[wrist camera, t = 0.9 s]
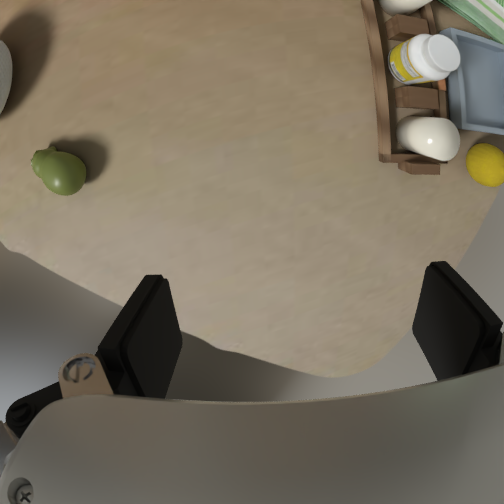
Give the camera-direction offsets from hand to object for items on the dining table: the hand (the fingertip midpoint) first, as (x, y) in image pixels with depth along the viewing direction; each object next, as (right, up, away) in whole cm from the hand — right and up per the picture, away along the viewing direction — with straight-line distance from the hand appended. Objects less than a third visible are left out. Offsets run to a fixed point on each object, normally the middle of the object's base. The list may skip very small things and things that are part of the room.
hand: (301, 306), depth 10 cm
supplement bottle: (+17, +25, +18) cm, 35 cm away
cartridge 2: (+18, +16, +22) cm, 33 cm away
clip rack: (+17, +25, +18) cm, 35 cm away
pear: (-28, +14, +26) cm, 40 cm away
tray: (+29, +25, +17) cm, 42 cm away
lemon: (+28, +15, +22) cm, 39 cm away
